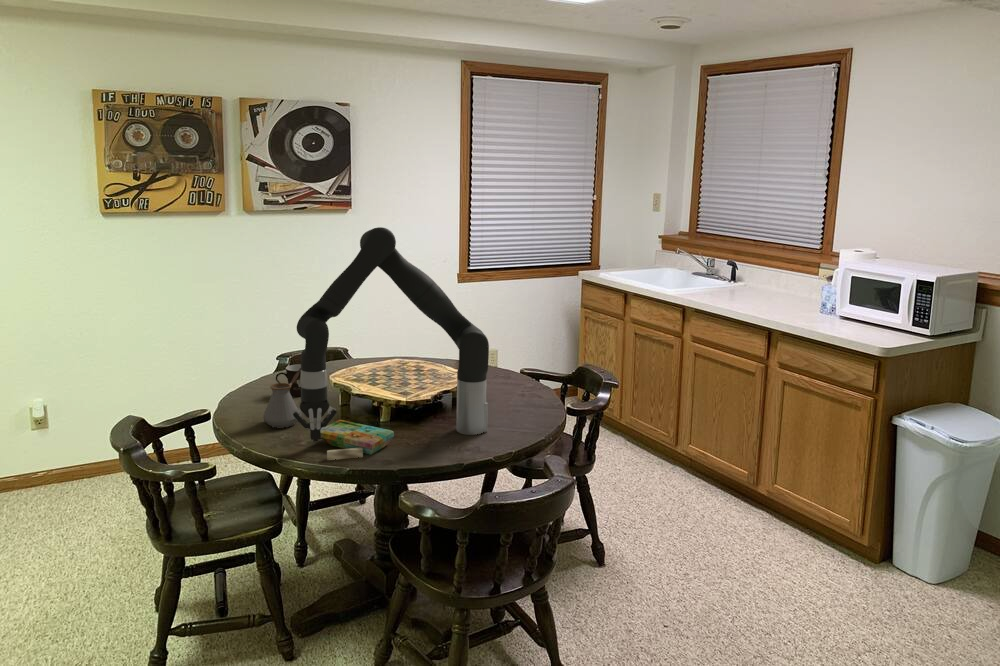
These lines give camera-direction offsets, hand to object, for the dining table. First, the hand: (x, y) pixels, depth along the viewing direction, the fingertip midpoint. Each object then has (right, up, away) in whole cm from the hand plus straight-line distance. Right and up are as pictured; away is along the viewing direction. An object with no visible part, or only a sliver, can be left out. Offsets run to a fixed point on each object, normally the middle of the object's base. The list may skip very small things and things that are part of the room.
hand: (315, 440), depth 227 cm
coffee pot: (-15, +3, +25) cm, 29 cm away
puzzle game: (+11, -2, +4) cm, 12 cm away
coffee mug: (-20, +9, +51) cm, 55 cm away
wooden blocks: (+7, -2, +3) cm, 8 cm away
